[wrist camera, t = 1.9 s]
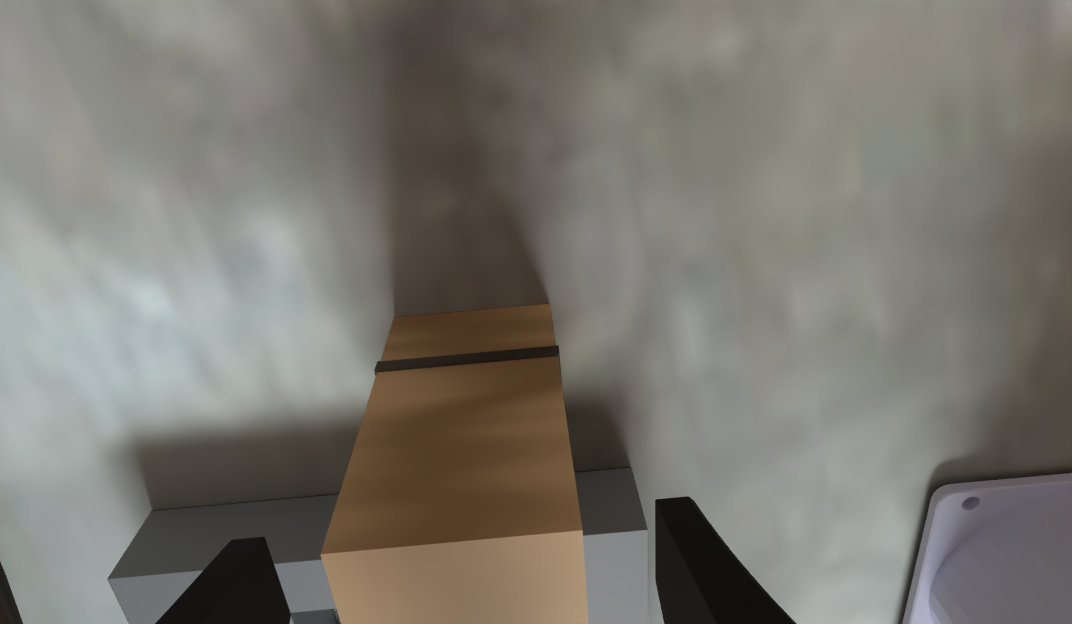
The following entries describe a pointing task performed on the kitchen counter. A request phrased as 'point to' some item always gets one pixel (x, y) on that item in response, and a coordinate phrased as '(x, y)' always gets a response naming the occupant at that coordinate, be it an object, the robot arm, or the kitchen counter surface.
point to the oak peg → (461, 480)
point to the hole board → (300, 530)
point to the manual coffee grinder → (7, 602)
